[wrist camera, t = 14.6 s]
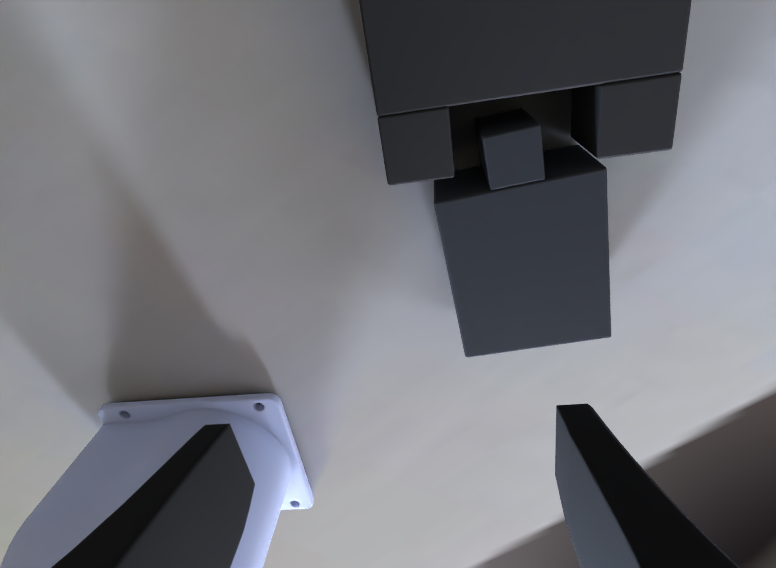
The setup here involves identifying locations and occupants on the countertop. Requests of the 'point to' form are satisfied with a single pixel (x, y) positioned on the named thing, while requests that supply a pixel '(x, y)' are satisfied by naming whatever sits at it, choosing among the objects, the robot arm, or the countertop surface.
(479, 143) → the graphite pad
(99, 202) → the countertop surface
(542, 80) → the black pad
